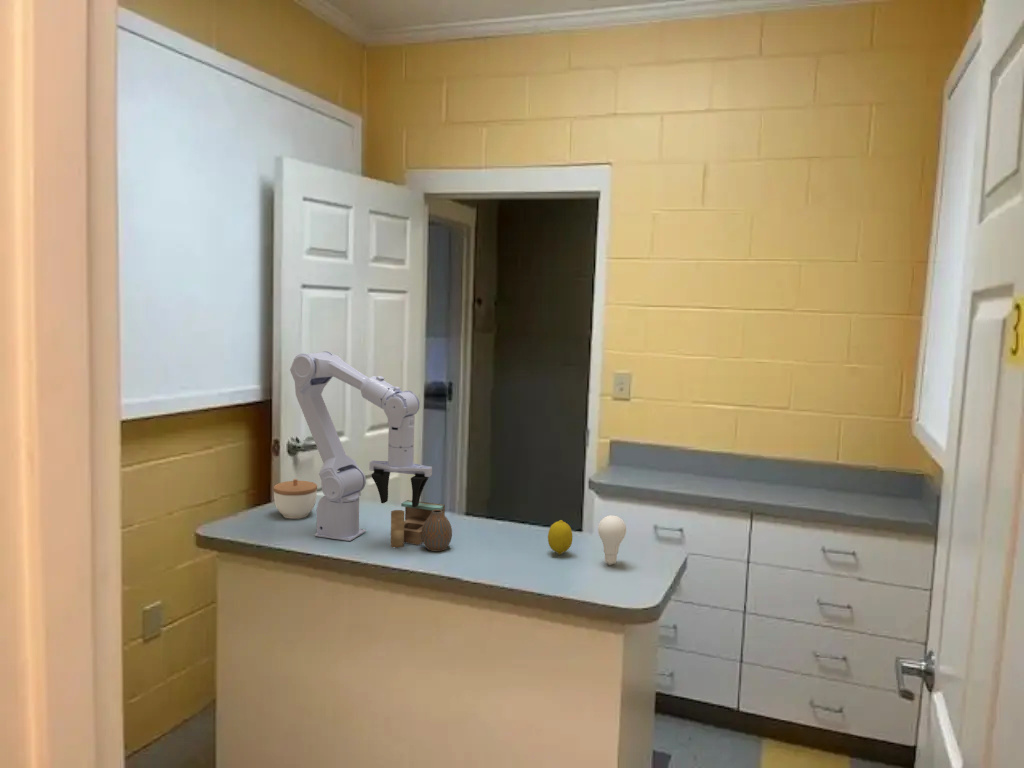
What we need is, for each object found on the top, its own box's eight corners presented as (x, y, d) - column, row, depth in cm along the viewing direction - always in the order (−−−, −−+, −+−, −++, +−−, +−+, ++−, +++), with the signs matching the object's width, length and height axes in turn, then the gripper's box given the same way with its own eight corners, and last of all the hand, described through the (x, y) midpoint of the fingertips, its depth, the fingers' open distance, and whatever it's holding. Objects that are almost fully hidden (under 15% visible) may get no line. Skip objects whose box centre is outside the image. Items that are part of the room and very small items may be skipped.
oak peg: (388, 546, 176) (388, 512, 175) (394, 542, 179) (394, 509, 178) (400, 548, 175) (400, 514, 174) (406, 544, 178) (406, 510, 177)
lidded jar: (325, 512, 201) (325, 477, 200) (300, 523, 191) (300, 486, 190) (291, 507, 204) (291, 472, 203) (264, 517, 195) (264, 481, 193)
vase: (446, 554, 172) (447, 516, 171) (417, 551, 174) (417, 513, 173) (455, 544, 179) (456, 508, 178) (426, 542, 180) (427, 505, 179)
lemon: (574, 552, 177) (575, 518, 176) (568, 560, 171) (569, 525, 170) (551, 549, 178) (552, 515, 177) (544, 556, 173) (545, 521, 172)
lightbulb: (617, 571, 165) (619, 521, 164) (591, 565, 168) (593, 516, 167) (628, 563, 170) (631, 515, 169) (603, 557, 174) (606, 510, 172)
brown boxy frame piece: (386, 540, 181) (386, 511, 180) (406, 526, 191) (407, 500, 190) (425, 545, 178) (426, 517, 177) (444, 532, 188) (444, 504, 187)
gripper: (363, 445, 172) (362, 505, 174) (424, 451, 168) (422, 512, 170) (377, 440, 179) (376, 497, 181) (436, 445, 175) (434, 504, 177)
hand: (399, 504), depth 176 cm, fingers open, 7 cm apart
